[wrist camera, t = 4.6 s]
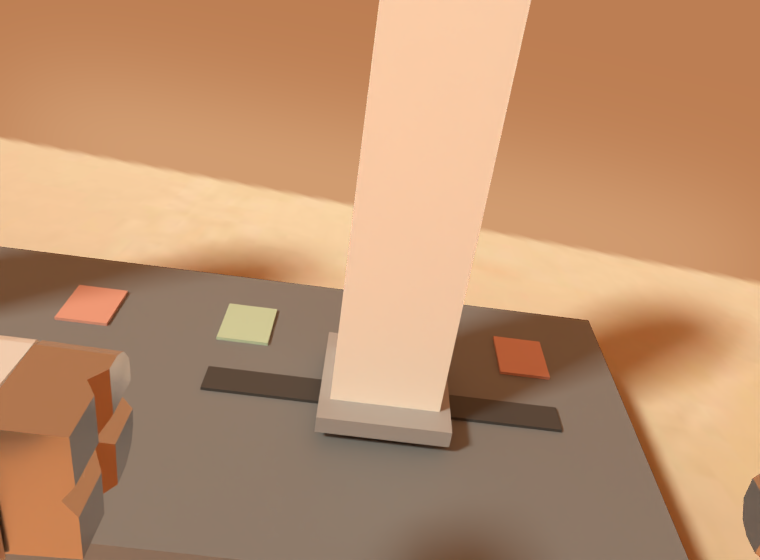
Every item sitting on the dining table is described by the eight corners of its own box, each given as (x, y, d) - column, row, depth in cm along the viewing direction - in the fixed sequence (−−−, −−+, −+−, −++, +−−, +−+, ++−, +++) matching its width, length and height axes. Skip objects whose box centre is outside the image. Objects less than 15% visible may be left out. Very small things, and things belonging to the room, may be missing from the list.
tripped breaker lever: (441, 359, 23) (535, -81, 17) (449, 447, 19) (571, -69, 13) (327, 345, 23) (380, -105, 16) (314, 431, 19) (374, -97, 13)
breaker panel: (574, 364, 28) (589, 318, 27) (679, 664, 17) (711, 607, 16) (-206, 268, 26) (-222, 216, 25) (-603, 529, 16) (-658, 458, 15)
